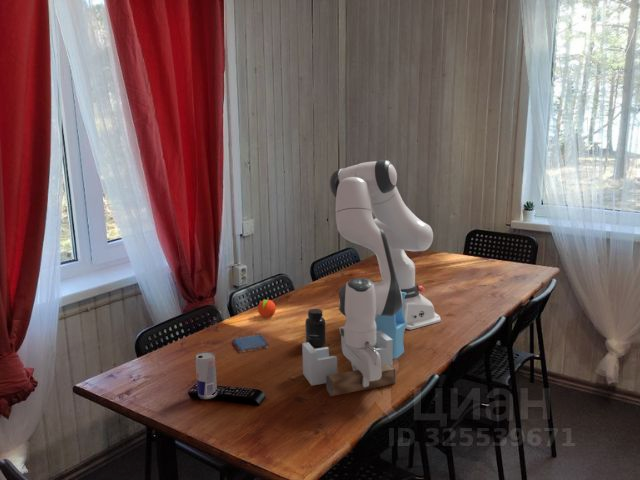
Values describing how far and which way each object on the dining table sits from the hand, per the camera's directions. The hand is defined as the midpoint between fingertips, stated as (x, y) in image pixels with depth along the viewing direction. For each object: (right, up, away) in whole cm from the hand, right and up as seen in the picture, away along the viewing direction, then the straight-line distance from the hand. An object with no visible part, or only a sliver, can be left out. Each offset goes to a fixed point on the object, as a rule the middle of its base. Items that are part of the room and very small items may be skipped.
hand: (361, 381), depth 162 cm
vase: (+11, +4, +23) cm, 26 cm away
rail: (0, -2, 0) cm, 2 cm away
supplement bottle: (-13, +5, +31) cm, 34 cm away
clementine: (-32, +10, +58) cm, 67 cm away
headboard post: (+4, +1, +12) cm, 13 cm away
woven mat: (-36, +4, +32) cm, 48 cm away
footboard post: (-11, 0, +7) cm, 13 cm away
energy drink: (-44, -4, -2) cm, 44 cm away
